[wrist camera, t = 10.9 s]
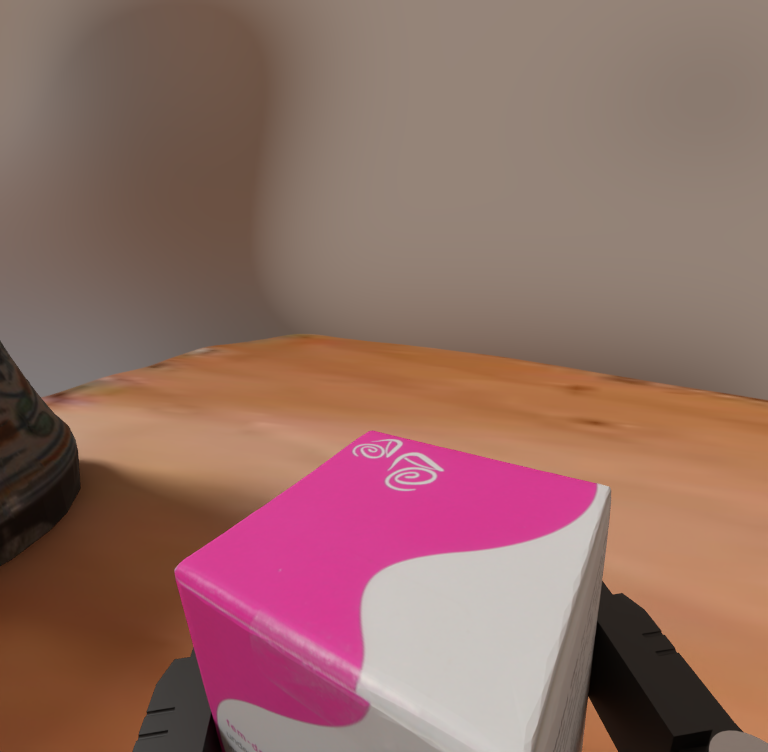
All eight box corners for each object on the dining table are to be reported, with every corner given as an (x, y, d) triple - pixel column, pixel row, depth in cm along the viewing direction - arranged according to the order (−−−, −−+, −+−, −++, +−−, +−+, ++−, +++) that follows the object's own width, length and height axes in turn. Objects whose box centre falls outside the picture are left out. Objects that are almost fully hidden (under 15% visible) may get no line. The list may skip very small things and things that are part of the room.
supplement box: (574, 839, 12) (627, 480, 8) (497, 1225, 8) (531, 844, 4) (394, 721, 15) (369, 418, 11) (263, 948, 11) (143, 576, 7)
